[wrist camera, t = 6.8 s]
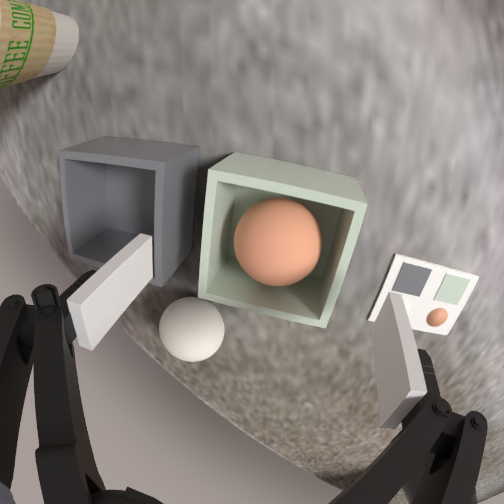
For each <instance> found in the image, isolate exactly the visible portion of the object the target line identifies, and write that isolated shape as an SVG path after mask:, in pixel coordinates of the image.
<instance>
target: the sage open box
mask: <svg viewBox="0 0 504 504" xmlns="http://www.w3.org/2000/svg"><path fill="white" fill-rule="evenodd" d="M270 198H286V199H290V200H293V201H296V202H298V203H300V204H301V205H303V206H304V207H306V208H307V209H308V210H309V211H310V212H311V213H312V214H313V216H314V217H315V218H316V220H317V222H318V224H319V226H320V229H321V233H322V251H321V255H320V258H319V260H318V262H317V264H316V266H315V267H314V269H313V270H312V271H311V272H310V273H309V274H308V275H307V276H306V277H305V278H303V279H302V280H300V281H298V282H296V283H294V284H291V285H287V286H270V285H266V284H263V283H260V282H258V281H256V280H254V279H253V278H252V277H250V276H249V275H248V274H247V273H246V272H245V271H244V270H243V268H242V267H241V265H240V264H239V262H238V260H237V257H236V254H235V249H234V235H235V230H236V227H237V225H238V222H239V221H240V219H241V217H242V216H243V215H244V213H245V212H246V211H247V210H248V209H249V208H250V207H252V206H253V205H255V204H256V203H258V202H260V201H263V200H266V199H270ZM367 205H368V203H367V201H366V199H365V196H364V194H363V192H362V190H361V187H360V185H359V183H358V180H357V178H354V177H350V176H346V175H342V174H338V173H334V172H330V171H325V170H321V169H317V168H312V167H308V166H304V165H299V164H294V163H290V162H285V161H280V160H275V159H270V158H265V157H259V156H254V155H248V154H243V153H237V152H234V153H233V154H231V155H230V156H228V157H226V158H225V159H223V160H222V161H220V162H219V163H217V164H216V165H214V166H213V167H211V168H210V169H208V177H207V187H206V197H205V208H204V219H203V231H202V243H201V256H200V271H199V286H198V298H202V299H206V300H209V301H213V302H217V303H221V304H225V305H229V306H232V307H236V308H240V309H244V310H248V311H252V312H256V313H261V314H265V315H269V316H273V317H277V318H282V319H286V320H290V321H295V322H299V323H303V324H308V325H313V326H317V327H322V328H326V326H327V323H328V321H329V318H330V315H331V313H332V310H333V307H334V305H335V302H336V299H337V297H338V294H339V291H340V288H341V285H342V283H343V280H344V277H345V274H346V271H347V268H348V265H349V262H350V259H351V256H352V253H353V250H354V247H355V244H356V241H357V238H358V234H359V231H360V228H361V225H362V221H363V218H364V215H365V211H366V208H367Z"/></svg>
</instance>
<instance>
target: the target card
mask: <svg viewBox="0 0 504 504" xmlns="http://www.w3.org/2000/svg"><path fill="white" fill-rule="evenodd" d="M478 278H479V276H478V275H474V274H471V273H467V272H464V271H460V270H456V269H453V268H449V267H445V266H442V265H438V264H434V263H431V262H427V261H423V260H419V259H415V258H412V257H408V256H404V255H400V254H395V257H394V259H393V262H392V264H391V267H390V269H389V272H388V274H387V277H386V279H385V282H384V284H383V286H382V289H381V291H380V294H379V296H378V298H377V300H376V303H375V305H374V307H373V309H372V312H371V314H370V316H369V318H368V321H373V322H375V320H376V318H377V316H378V314H379V312H380V310H381V308H382V305H383V303H384V301H385V299H386V296H387V294H388V292H394V293H398V294H401V295H402V298H403V301H404V304H405V308H406V311H407V314H408V318H409V321H410V325H411V328H412V329H414V330H420V331H425V332H431V333H436V334H442V335H447V334H448V333H449V331H450V330H451V328H452V326H453V325H454V323H455V321H456V319H457V318H458V316H459V314H460V312H461V311H462V309H463V307H464V305H465V303H466V302H467V300H468V298H469V296H470V294H471V292H472V290H473V288H474V286H475V284H476V283H477V281H478Z"/></svg>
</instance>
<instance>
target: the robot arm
mask: <svg viewBox="0 0 504 504" xmlns="http://www.w3.org/2000/svg"><path fill="white" fill-rule="evenodd" d="M152 278H153V265H152V236H149V235H145V234H141V233H140V234H139V235H138V236H137V237H135V238H134V239H133V240H132V241H131V242H130V243H128V244H127V245H126V246H125V247H124V248H123V249H121V250H120V251H119V252H118V253H117V254H116V255H115V256H113V257H112V258H111V259H110V260H109V261H108V262H107V263H106V264H105V265H103V266H102V267H101V268H100V269H99V270H98V271H95V270H91V271H89V272H87V273H84V274H83V275H82V276H81V277H80V278H79V279H78V280H76V281H75V282H74V283H73V285H71V286H70V287H69V288H68V289H66V290H65V291H64V292H63V293H62V294H61V295H60V296H59V294H58V290H57V288H56V287H55V286H54V285H51V284H44V285H40V286H38V287H37V288H35V289H34V290H33V291H32V294H31V297H32V300H33V303H34V305H28V304H26V303H25V300H24V297H22V296H21V295H12V296H9V297H7V298H6V299H5V300H4V301H3V302H2V304H1V306H0V504H16V503H15V501H14V500H13V495H12V493H11V491H10V488H11V483H12V479H13V472H14V466H15V456H16V448H17V441H18V434H19V427H20V421H21V416H22V410H23V405H24V400H25V395H26V391H27V387H28V382H29V378H30V374H31V370H32V366H33V362H34V394H35V409H36V419H37V420H36V421H37V430H38V438H39V448H37V449H36V452H35V457H36V464H37V470H38V475H39V481H40V486H41V490H42V495H43V499H44V503H45V504H163V503H162V502H160V501H159V500H157V499H155V498H153V497H151V496H148V495H146V494H144V493H141V492H139V491H136V490H134V489H132V488H129V487H127V488H126V490H125V491H123V490H106V489H105V486H104V483H103V481H102V479H101V477H100V475H99V473H98V470H97V467H96V463H95V459H94V456H93V452H92V448H91V445H90V440H89V436H88V431H87V427H86V422H85V418H84V413H83V408H82V402H81V396H80V391H79V385H78V377H77V370H76V364H75V354H74V346H73V343H72V342H73V340H74V339H75V338H76V337H77V340H78V343H79V345H80V346H81V347H83V348H86V349H88V350H90V351H93V349H94V348H95V347H96V346H97V344H98V343H99V342H100V340H101V339H102V338H103V337H104V335H105V334H106V333H107V332H108V330H109V329H110V328H111V327H112V325H113V324H114V323H115V322H116V321H117V319H118V318H119V317H120V316H121V314H122V313H123V312H124V311H125V310H126V308H127V307H128V306H129V305H130V304H131V302H132V301H133V300H134V299H135V298H136V296H137V295H138V294H139V293H140V292H141V290H142V289H143V288H144V287H145V286H146V285H147V283H148V282H149V281H150V280H151V279H152ZM371 334H372V342H373V350H374V359H375V368H376V379H377V390H378V402H379V417H380V428H390V429H396V428H397V426H398V425H399V424H400V423H401V422H402V428H403V429H402V430H401V431H400V432H399V433H398V435H397V436H396V437H395V438H394V439H393V440H392V442H391V443H390V444H389V445H388V446H387V447H386V448H385V449H384V451H383V452H382V453H381V454H380V455H379V456H378V457H377V458H376V459H375V460H374V461H373V462H372V463H371V464H370V465H369V466H368V467H367V468H366V469H365V470H364V471H363V472H362V473H361V474H360V475H359V476H358V477H357V478H356V479H355V480H354V481H353V482H352V483H351V484H350V485H349V486H348V487H347V488H346V489H345V490H343V491H342V492H341V493H340V494H339V495H338V496H337V497H336V498H334V499H333V500H332V501H331V502H330V503H329V504H388V503H389V502H390V501H391V499H392V498H393V497H394V496H395V495H396V494H397V492H398V491H399V490H400V489H401V488H403V490H404V493H405V495H406V498H407V500H408V502H409V504H477V496H476V488H475V486H476V482H477V478H478V474H479V470H480V466H481V461H482V456H483V451H484V446H485V440H486V434H487V428H488V426H487V421H486V418H485V417H484V416H483V415H482V414H481V413H480V412H477V411H470V412H469V413H468V414H467V415H466V416H462V415H460V414H457V413H454V412H452V409H451V406H450V404H449V403H448V402H447V401H446V400H445V399H443V398H441V396H440V392H439V388H438V384H437V380H436V376H435V375H434V374H435V372H434V368H433V364H432V361H431V358H430V356H429V355H428V353H427V352H426V351H425V350H421V349H417V346H416V343H415V339H414V335H413V332H412V328H411V325H410V321H409V318H408V314H407V311H406V308H405V304H404V301H403V298H402V295H401V294H398V293H394V292H388V294H387V296H386V299H385V301H384V303H383V305H382V308H381V310H380V312H379V314H378V316H377V318H376V320H375V322H374V324H373V327H372V329H371Z"/></svg>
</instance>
